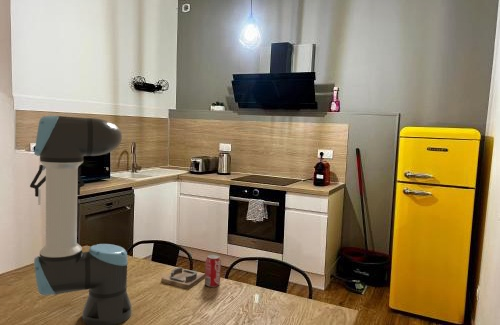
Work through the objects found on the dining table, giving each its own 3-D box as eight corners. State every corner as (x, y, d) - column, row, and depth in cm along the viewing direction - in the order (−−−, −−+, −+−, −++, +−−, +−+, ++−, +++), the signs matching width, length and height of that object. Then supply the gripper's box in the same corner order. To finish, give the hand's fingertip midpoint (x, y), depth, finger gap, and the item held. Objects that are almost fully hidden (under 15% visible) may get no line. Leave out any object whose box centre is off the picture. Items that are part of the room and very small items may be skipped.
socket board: (205, 277, 157) (205, 269, 157) (188, 288, 145) (189, 280, 145) (179, 271, 162) (179, 263, 162) (161, 281, 150) (161, 274, 150)
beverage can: (221, 282, 153) (222, 254, 152) (218, 288, 147) (219, 259, 146) (206, 280, 154) (207, 252, 152) (203, 287, 147) (204, 258, 146)
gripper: (89, 152, 163) (89, 200, 165) (23, 152, 151) (23, 203, 153) (91, 154, 156) (90, 203, 158) (22, 153, 144) (22, 206, 146)
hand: (57, 203), depth 156 cm, fingers open, 13 cm apart
